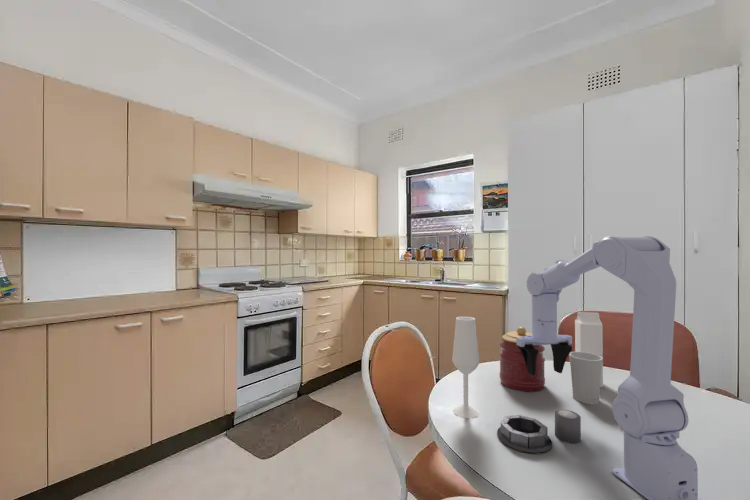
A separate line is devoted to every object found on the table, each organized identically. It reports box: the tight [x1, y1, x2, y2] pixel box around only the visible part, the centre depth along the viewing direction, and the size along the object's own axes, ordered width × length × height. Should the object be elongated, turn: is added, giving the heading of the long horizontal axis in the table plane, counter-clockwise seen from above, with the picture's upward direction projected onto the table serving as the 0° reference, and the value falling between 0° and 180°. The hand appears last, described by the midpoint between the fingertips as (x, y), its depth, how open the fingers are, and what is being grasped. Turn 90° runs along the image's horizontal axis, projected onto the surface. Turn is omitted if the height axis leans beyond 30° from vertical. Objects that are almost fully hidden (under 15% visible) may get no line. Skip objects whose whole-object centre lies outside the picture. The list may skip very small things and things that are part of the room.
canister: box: [498, 326, 546, 392], centre depth 104 cm, size 13×13×18 cm
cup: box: [568, 351, 604, 405], centre depth 93 cm, size 8×8×12 cm
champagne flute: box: [451, 316, 480, 419], centre depth 86 cm, size 7×7×24 cm
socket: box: [496, 414, 553, 455], centre depth 74 cm, size 11×11×3 cm
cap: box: [554, 408, 582, 445], centre depth 74 cm, size 5×5×5 cm
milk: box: [574, 311, 604, 388], centre depth 105 cm, size 6×6×22 cm
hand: (544, 372), depth 86 cm, fingers open, 7 cm apart
